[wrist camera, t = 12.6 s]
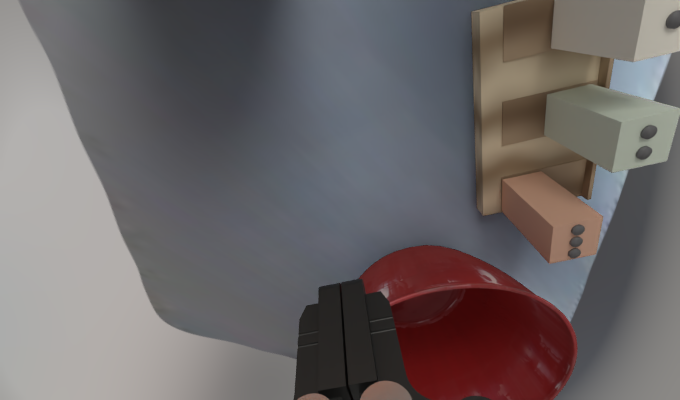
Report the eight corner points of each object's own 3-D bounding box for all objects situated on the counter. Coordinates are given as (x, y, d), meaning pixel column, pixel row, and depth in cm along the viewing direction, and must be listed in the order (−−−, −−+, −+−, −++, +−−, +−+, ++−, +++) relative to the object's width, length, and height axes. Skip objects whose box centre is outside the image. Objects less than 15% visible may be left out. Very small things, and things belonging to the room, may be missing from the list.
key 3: (501, 211, 42) (550, 265, 33) (502, 179, 40) (554, 228, 31) (538, 203, 42) (597, 255, 33) (541, 171, 40) (605, 217, 31)
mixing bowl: (318, 201, 43) (318, 290, 29) (535, 204, 45) (629, 288, 31) (316, 349, 56) (315, 455, 43) (482, 346, 58) (530, 447, 45)
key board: (573, 186, 43) (590, 199, 41) (476, 207, 44) (487, 221, 42) (601, -22, 32) (627, -25, 29) (471, 11, 33) (485, 11, 30)
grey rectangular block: (550, 48, 33) (636, 62, 24) (554, -5, 31) (650, -11, 22) (597, 36, 33) (702, 46, 24) (605, -18, 31) (723, -29, 22)
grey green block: (543, 134, 37) (614, 174, 28) (547, 94, 35) (624, 123, 26) (585, 125, 37) (669, 162, 28) (591, 83, 35) (684, 109, 26)
